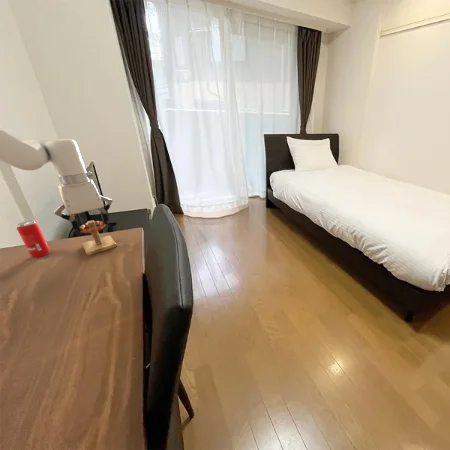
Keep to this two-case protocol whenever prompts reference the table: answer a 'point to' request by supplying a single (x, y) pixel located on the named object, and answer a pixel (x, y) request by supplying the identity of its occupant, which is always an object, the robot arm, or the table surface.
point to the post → (98, 242)
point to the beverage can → (33, 238)
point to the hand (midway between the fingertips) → (92, 226)
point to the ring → (82, 228)
